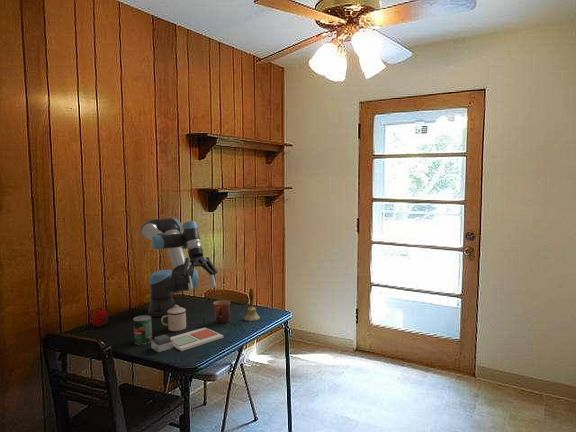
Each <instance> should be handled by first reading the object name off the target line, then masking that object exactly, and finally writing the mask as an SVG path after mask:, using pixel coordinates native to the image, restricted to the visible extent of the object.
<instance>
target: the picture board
mask: <svg viewBox="0 0 576 432" xmlns="http://www.w3.org/2000/svg"><path fill="white" fill-rule="evenodd" d="M169 337H170V340H172V341H174V349H176V350H179V351H181V352H183V351H187V350H190V349H193V348H196V347H198V346H202V345H204V344H208V343H211V342H214V341H217V340H220V339H224V335H223V334H222V333H219V332H217V331H214V330H212V329H209V328H207V327H206V326H205V327H202V328H198V329H195V330H194V329H193V330H191V331H187V332H185V333H184V332H183V333H181V334H177V335H175V336H169Z"/></svg>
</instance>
